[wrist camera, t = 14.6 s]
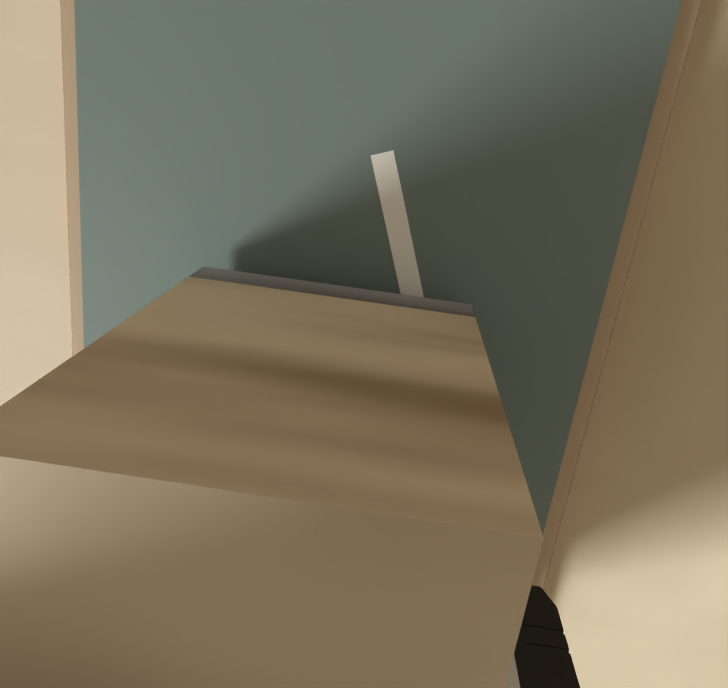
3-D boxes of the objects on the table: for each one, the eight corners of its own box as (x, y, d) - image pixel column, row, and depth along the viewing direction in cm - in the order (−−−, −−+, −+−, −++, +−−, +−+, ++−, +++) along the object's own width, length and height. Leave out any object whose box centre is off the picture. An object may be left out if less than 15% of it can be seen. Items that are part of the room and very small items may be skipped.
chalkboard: (66, -282, 13) (38, -315, 12) (743, -204, 12) (772, -230, 11) (94, 734, 22) (79, 762, 21) (480, 795, 21) (483, 827, 20)
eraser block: (203, 266, 14) (-60, 446, 6) (471, 304, 14) (543, 538, 6) (187, 622, 18) (1, 1034, 10) (404, 656, 18) (397, 1104, 10)
